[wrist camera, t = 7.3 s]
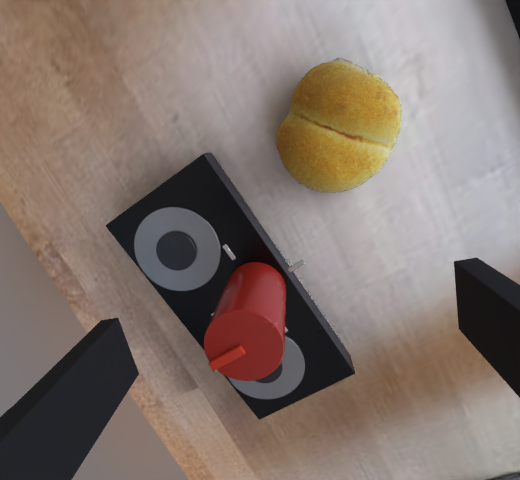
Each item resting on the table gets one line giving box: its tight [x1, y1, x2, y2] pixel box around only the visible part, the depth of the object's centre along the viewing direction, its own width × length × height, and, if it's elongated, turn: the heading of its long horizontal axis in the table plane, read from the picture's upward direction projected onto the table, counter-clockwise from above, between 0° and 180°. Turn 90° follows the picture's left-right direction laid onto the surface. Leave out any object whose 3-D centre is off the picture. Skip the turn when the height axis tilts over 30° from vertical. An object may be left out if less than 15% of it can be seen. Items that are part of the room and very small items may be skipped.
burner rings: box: [134, 207, 305, 399], centre depth 28 cm, size 19×7×1 cm, turn 34°
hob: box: [106, 153, 355, 419], centre depth 29 cm, size 22×12×3 cm, turn 34°
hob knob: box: [204, 262, 286, 381], centre depth 24 cm, size 5×5×8 cm
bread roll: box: [276, 58, 402, 193], centre depth 24 cm, size 8×9×4 cm
